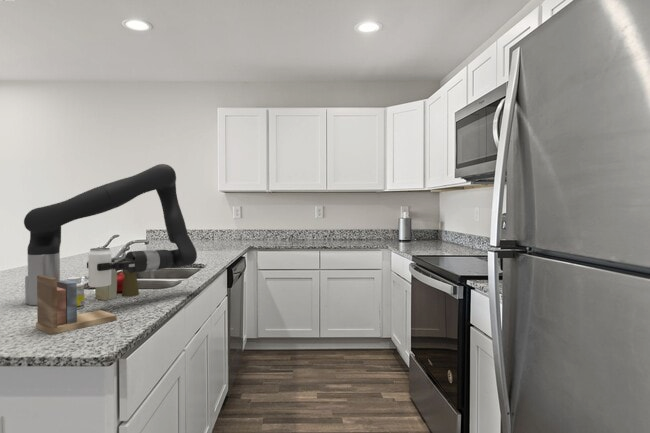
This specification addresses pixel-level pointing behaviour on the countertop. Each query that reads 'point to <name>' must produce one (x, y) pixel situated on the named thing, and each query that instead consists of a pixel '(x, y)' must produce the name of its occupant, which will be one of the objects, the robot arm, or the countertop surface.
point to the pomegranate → (120, 282)
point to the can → (95, 276)
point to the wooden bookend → (63, 307)
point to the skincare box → (108, 289)
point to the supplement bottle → (78, 291)
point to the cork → (130, 284)
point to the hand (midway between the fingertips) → (92, 266)
